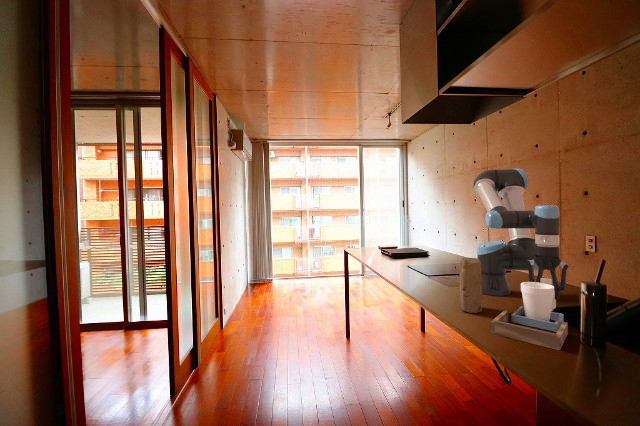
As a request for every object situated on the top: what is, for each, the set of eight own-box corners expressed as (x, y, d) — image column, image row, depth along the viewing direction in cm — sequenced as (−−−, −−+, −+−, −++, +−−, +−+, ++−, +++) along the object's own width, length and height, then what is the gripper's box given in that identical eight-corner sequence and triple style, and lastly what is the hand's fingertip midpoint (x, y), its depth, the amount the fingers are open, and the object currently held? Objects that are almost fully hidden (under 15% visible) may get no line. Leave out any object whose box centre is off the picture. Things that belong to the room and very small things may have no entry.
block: (483, 315, 114) (482, 261, 114) (460, 313, 117) (460, 260, 117) (479, 306, 124) (478, 256, 124) (459, 304, 127) (458, 256, 127)
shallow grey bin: (504, 319, 109) (504, 308, 109) (567, 333, 97) (567, 321, 97) (490, 332, 98) (490, 320, 98) (559, 350, 86) (559, 336, 86)
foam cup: (555, 330, 99) (555, 290, 99) (521, 324, 104) (521, 286, 104) (552, 320, 107) (552, 283, 107) (520, 316, 112) (520, 280, 112)
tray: (528, 304, 124) (528, 275, 124) (568, 311, 116) (568, 280, 115) (511, 322, 107) (511, 287, 106) (557, 332, 98) (557, 294, 97)
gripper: (519, 244, 122) (519, 303, 122) (573, 248, 110) (573, 313, 110) (524, 243, 127) (524, 299, 127) (576, 246, 115) (576, 308, 116)
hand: (547, 306), depth 119 cm, fingers closed on tray, 3 cm apart
